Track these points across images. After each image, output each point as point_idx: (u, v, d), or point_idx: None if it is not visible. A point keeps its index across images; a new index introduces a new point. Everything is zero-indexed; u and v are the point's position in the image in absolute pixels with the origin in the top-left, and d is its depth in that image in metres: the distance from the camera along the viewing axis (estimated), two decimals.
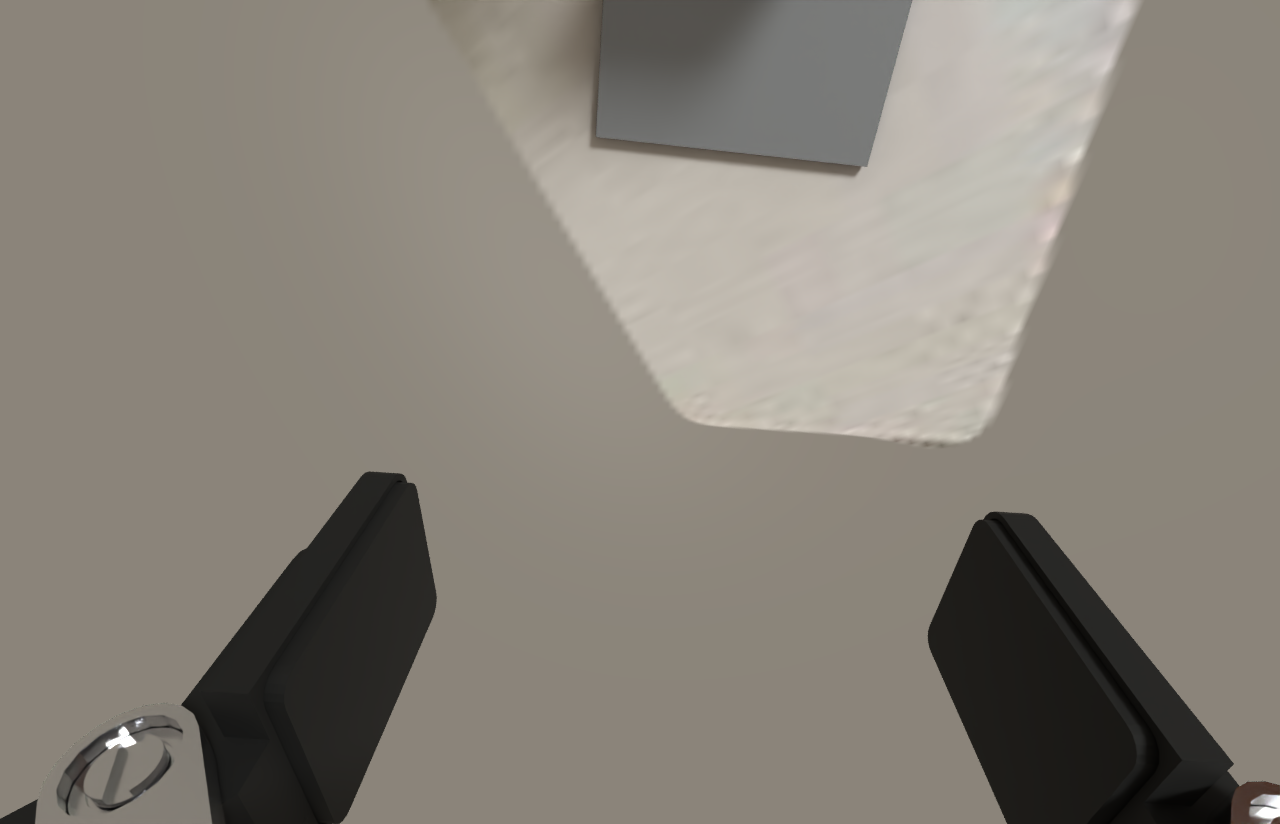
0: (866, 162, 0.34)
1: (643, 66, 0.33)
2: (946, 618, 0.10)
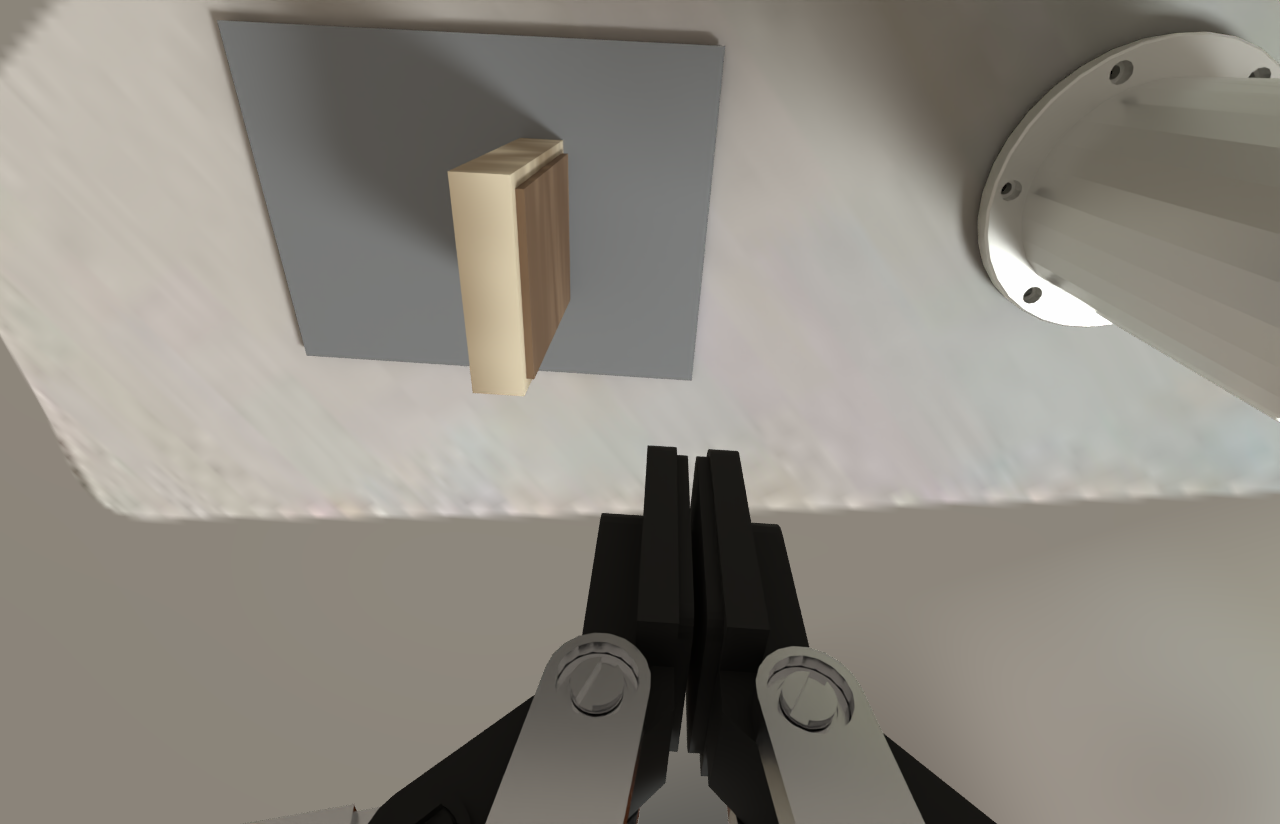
0: (310, 354, 0.34)
1: (316, 88, 0.27)
2: None
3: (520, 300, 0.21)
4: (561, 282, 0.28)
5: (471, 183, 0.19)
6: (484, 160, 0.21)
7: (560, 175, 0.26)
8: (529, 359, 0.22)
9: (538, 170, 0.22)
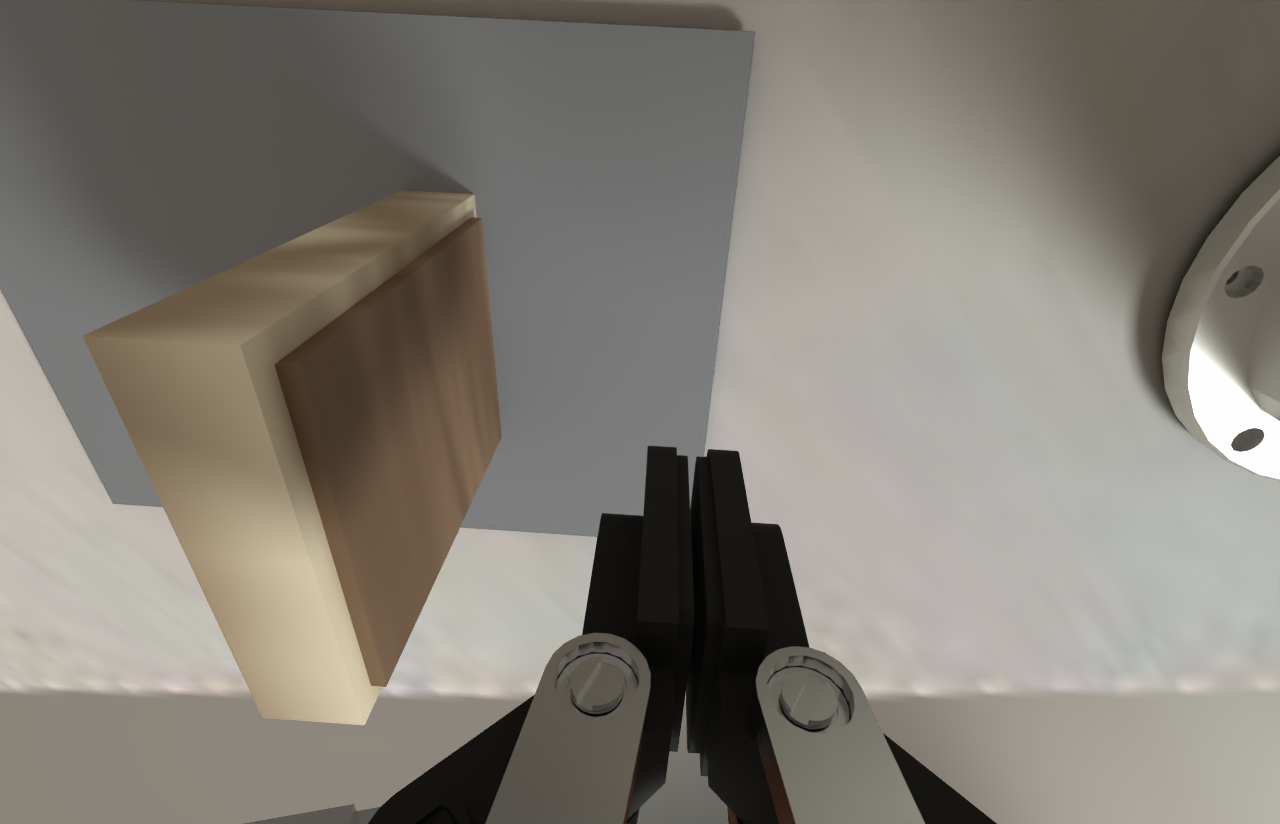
0: (118, 502, 0.22)
1: (42, 106, 0.15)
2: None
3: (331, 571, 0.10)
4: (473, 434, 0.16)
5: (149, 362, 0.08)
6: (247, 273, 0.10)
7: (459, 263, 0.14)
8: (370, 659, 0.11)
9: (389, 277, 0.11)
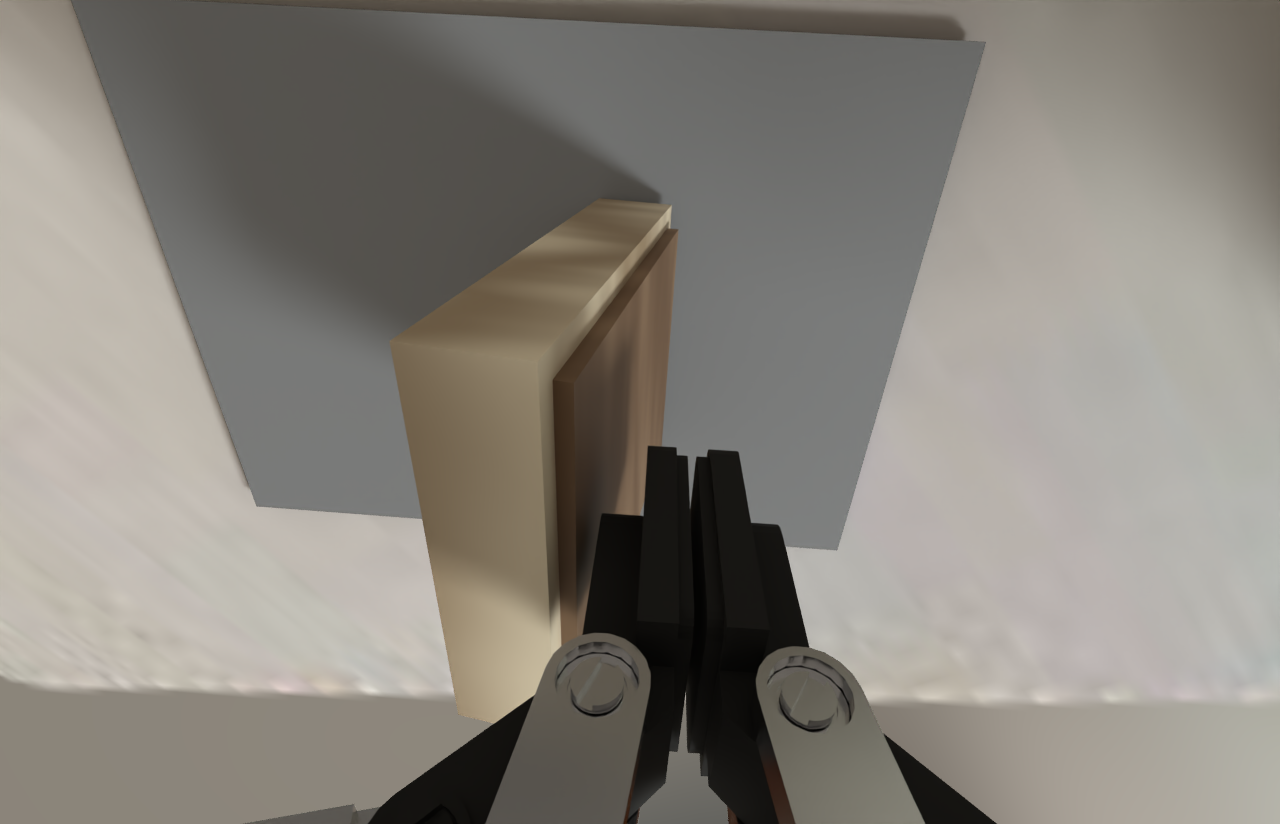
0: (261, 504, 0.22)
1: (250, 113, 0.15)
2: None
3: (556, 586, 0.10)
4: None
5: (445, 371, 0.08)
6: (504, 282, 0.10)
7: (662, 276, 0.14)
8: None
9: (619, 290, 0.11)
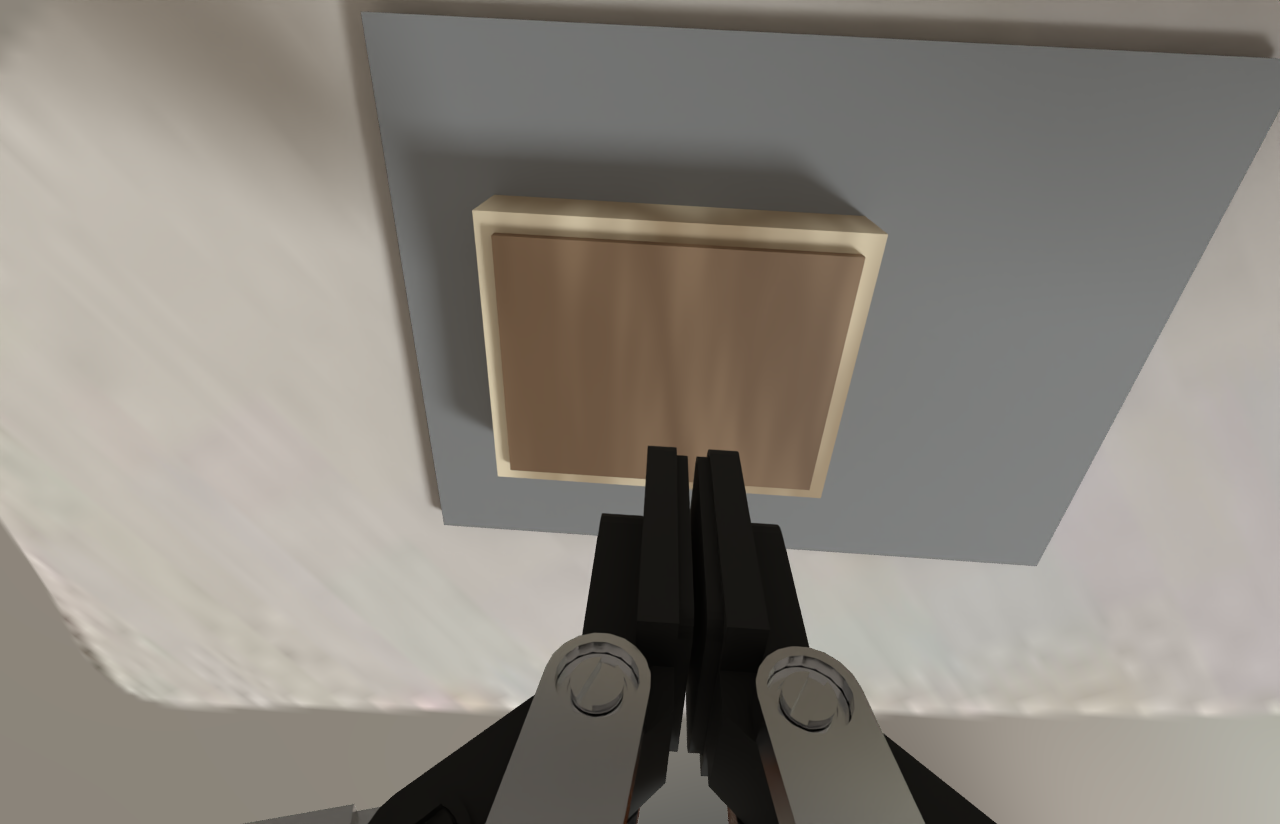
0: (449, 523, 0.22)
1: (525, 131, 0.15)
2: None
3: (500, 369, 0.16)
4: (731, 435, 0.17)
5: None
6: (588, 203, 0.16)
7: (772, 277, 0.14)
8: (509, 444, 0.18)
9: (645, 240, 0.14)
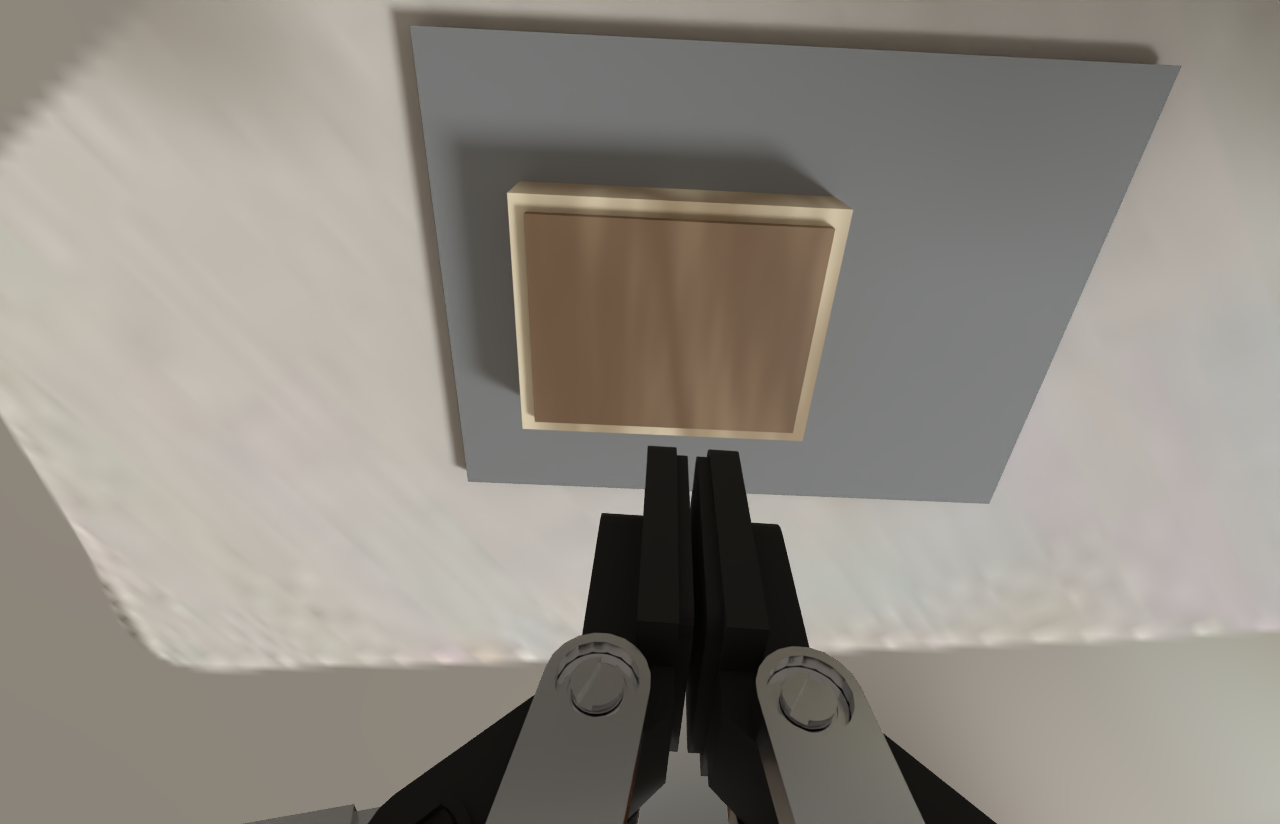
0: (473, 479, 0.25)
1: (547, 126, 0.18)
2: None
3: (527, 331, 0.19)
4: (726, 385, 0.20)
5: None
6: (602, 187, 0.18)
7: (758, 246, 0.17)
8: (534, 399, 0.20)
9: (653, 217, 0.17)
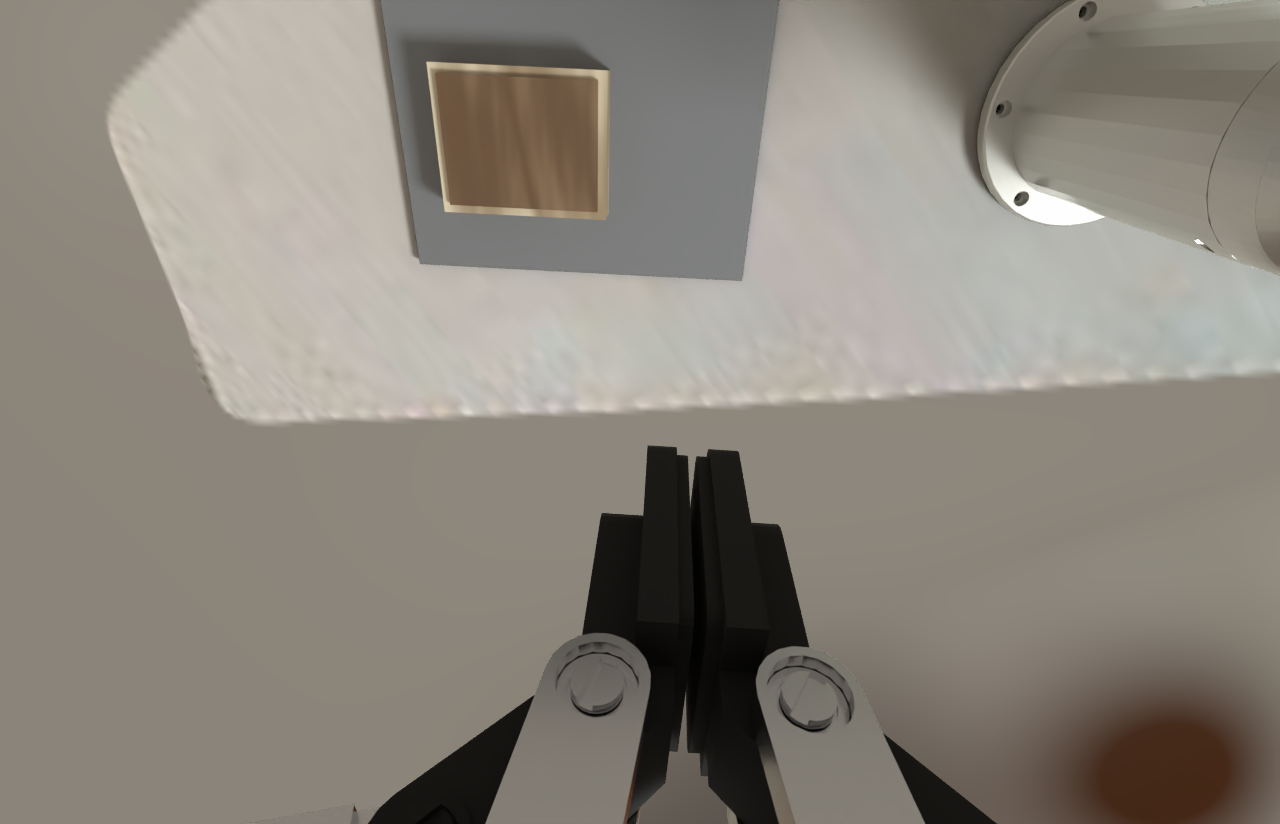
0: (423, 262, 0.40)
1: (451, 30, 0.33)
2: None
3: (442, 146, 0.35)
4: (554, 179, 0.35)
5: None
6: None
7: (559, 91, 0.33)
8: (449, 190, 0.36)
9: (503, 75, 0.33)
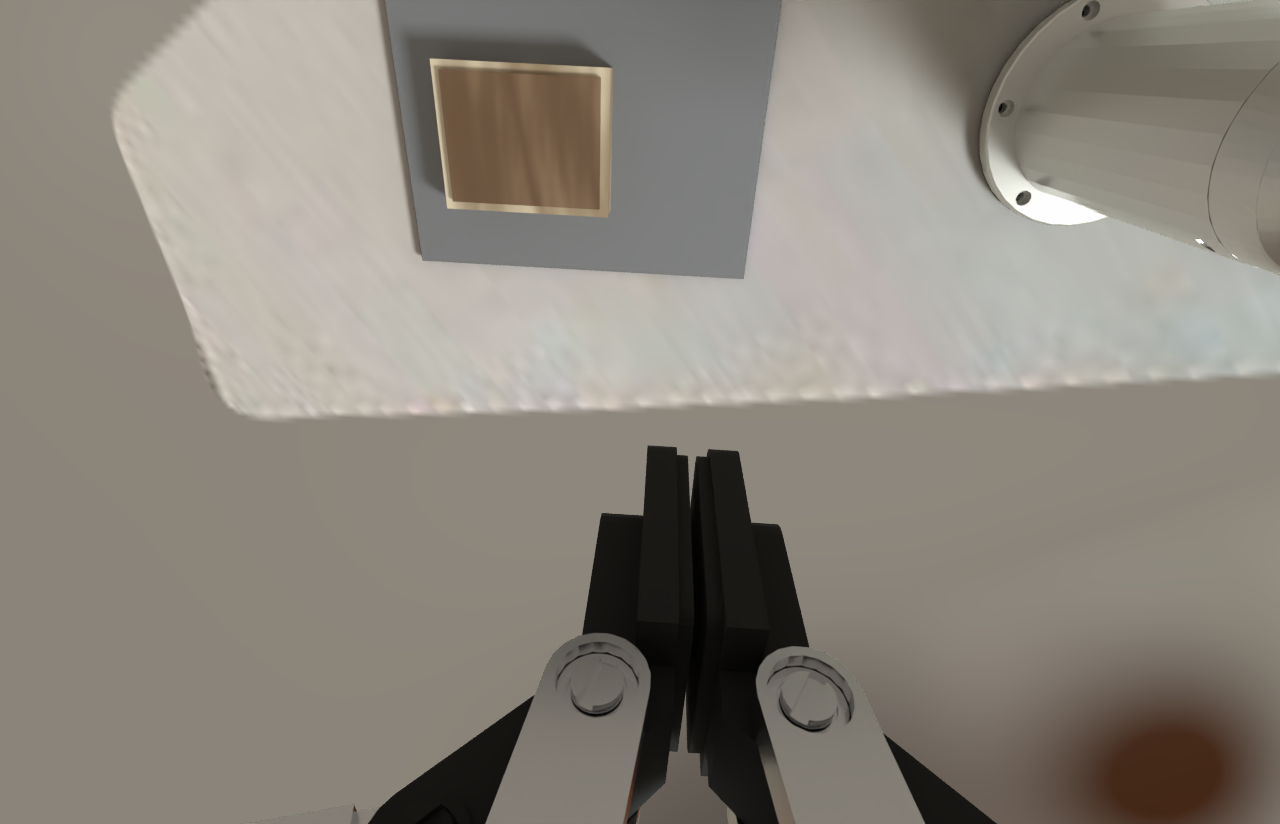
0: (425, 259, 0.40)
1: (454, 26, 0.33)
2: None
3: (445, 143, 0.35)
4: (556, 176, 0.35)
5: None
6: None
7: (562, 88, 0.33)
8: (451, 187, 0.36)
9: (506, 72, 0.33)
